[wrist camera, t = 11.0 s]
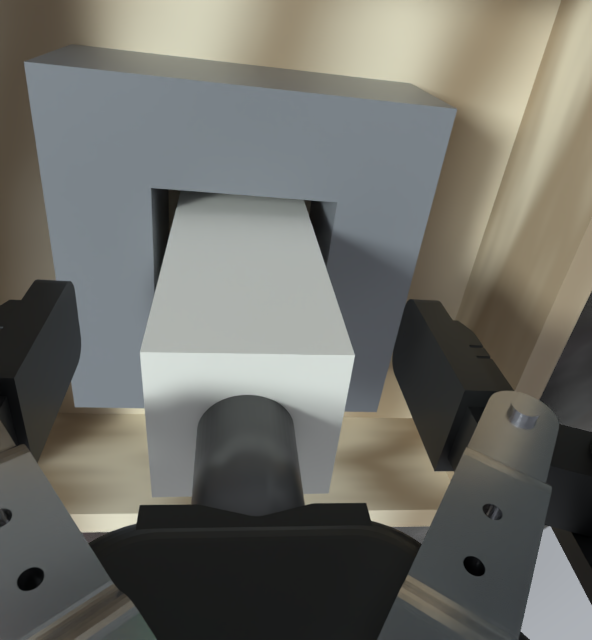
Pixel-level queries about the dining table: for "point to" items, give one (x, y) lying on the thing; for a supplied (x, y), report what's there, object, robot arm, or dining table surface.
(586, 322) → the dining table surface
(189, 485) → the plug
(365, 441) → the walled box
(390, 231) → the block
